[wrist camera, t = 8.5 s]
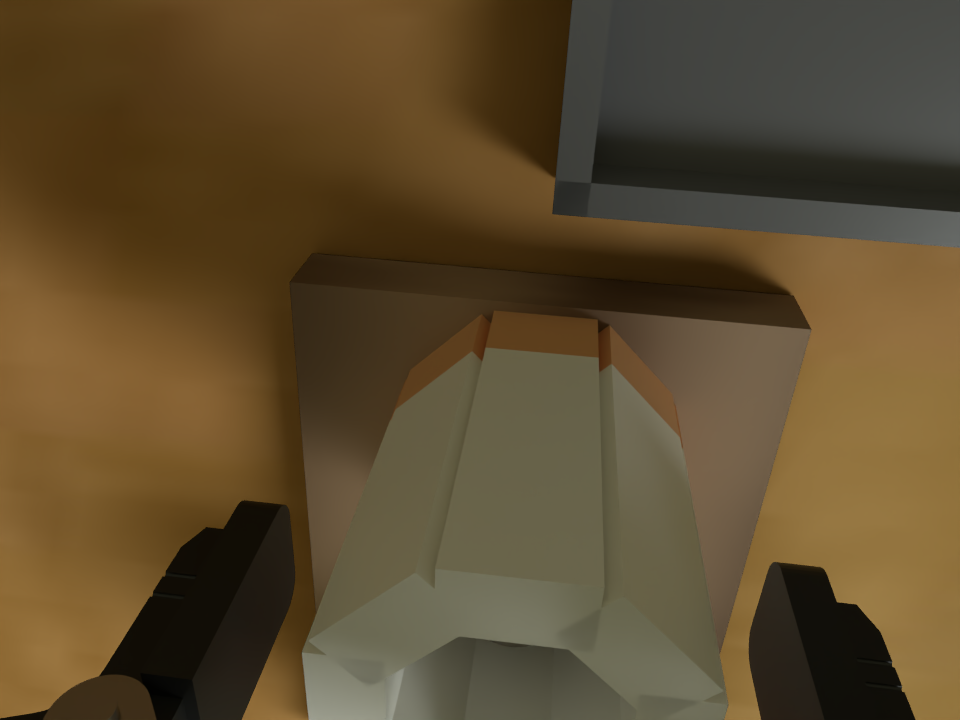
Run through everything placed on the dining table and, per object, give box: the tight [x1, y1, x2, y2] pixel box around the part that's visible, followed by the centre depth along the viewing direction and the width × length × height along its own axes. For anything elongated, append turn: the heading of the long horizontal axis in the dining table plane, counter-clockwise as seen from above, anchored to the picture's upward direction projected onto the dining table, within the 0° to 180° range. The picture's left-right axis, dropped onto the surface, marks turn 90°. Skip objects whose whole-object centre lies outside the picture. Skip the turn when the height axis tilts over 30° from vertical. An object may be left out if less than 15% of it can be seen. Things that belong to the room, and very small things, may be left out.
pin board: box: [290, 253, 811, 654], centre depth 18 cm, size 10×16×6 cm, turn 177°
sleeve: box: [302, 311, 728, 720], centre depth 14 cm, size 6×6×7 cm
